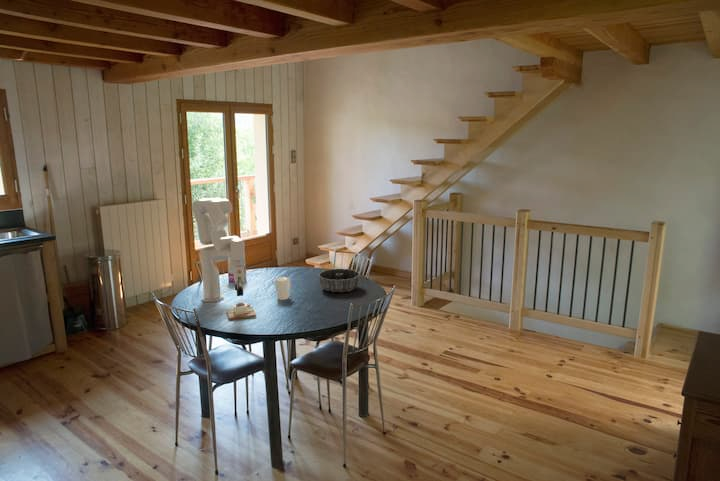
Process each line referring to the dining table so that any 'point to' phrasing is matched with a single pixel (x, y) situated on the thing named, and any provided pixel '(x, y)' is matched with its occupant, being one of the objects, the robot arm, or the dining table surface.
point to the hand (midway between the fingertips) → (239, 292)
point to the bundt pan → (339, 280)
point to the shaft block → (241, 316)
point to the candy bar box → (230, 272)
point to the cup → (282, 287)
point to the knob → (241, 308)
